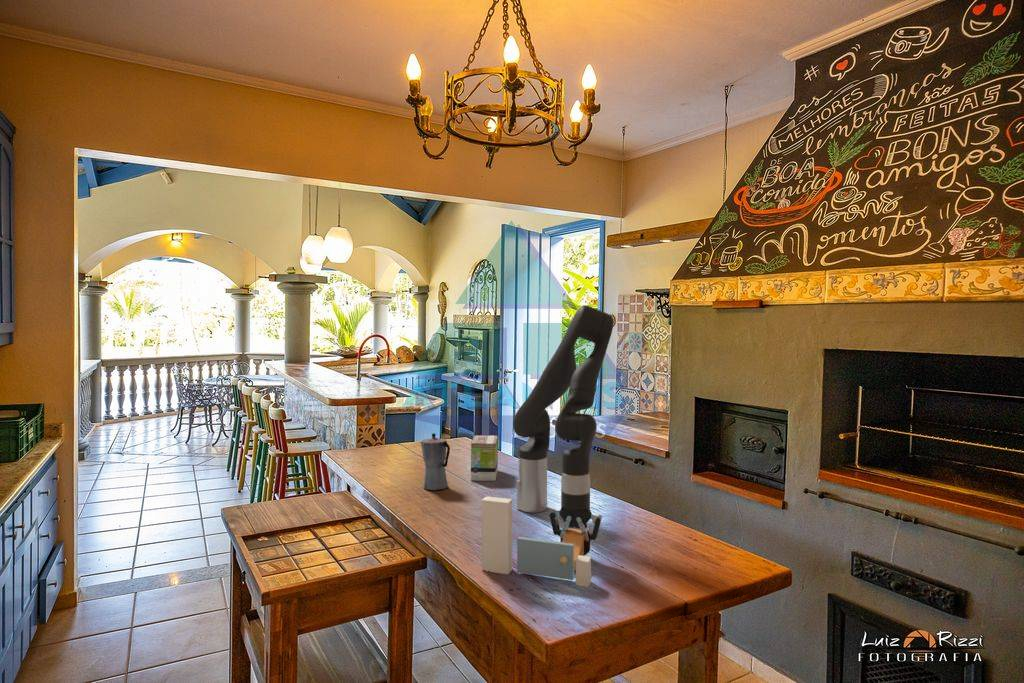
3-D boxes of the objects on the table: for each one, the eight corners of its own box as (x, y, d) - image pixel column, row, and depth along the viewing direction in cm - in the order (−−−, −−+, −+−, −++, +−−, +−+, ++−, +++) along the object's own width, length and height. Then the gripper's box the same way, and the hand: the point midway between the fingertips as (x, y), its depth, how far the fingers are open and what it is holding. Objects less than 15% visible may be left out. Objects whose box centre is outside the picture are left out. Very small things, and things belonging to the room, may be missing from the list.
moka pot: (432, 480, 221) (431, 429, 220) (460, 488, 211) (460, 434, 210) (413, 486, 213) (412, 433, 212) (441, 495, 204) (441, 439, 203)
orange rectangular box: (577, 570, 143) (577, 547, 143) (557, 567, 144) (557, 544, 144) (586, 552, 153) (586, 530, 153) (567, 550, 155) (567, 528, 155)
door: (515, 574, 141) (515, 540, 141) (518, 569, 144) (518, 536, 143) (571, 582, 137) (571, 548, 136) (573, 578, 139) (573, 543, 139)
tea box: (496, 481, 220) (496, 443, 219) (470, 481, 220) (469, 443, 219) (498, 470, 235) (498, 434, 234) (473, 470, 235) (473, 434, 234)
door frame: (482, 570, 145) (481, 500, 144) (486, 565, 148) (486, 496, 147) (588, 586, 136) (588, 511, 135) (590, 581, 139) (591, 507, 138)
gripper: (545, 490, 150) (545, 554, 151) (600, 496, 145) (599, 562, 146) (552, 482, 157) (552, 543, 158) (605, 487, 152) (604, 550, 153)
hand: (575, 551), depth 152 cm, fingers closed on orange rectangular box, 5 cm apart
